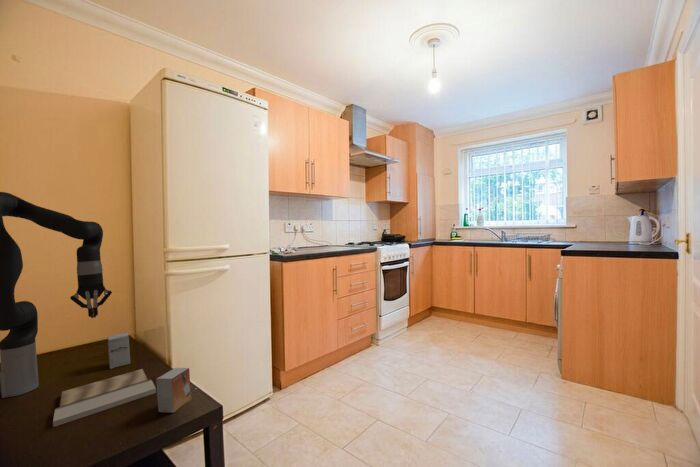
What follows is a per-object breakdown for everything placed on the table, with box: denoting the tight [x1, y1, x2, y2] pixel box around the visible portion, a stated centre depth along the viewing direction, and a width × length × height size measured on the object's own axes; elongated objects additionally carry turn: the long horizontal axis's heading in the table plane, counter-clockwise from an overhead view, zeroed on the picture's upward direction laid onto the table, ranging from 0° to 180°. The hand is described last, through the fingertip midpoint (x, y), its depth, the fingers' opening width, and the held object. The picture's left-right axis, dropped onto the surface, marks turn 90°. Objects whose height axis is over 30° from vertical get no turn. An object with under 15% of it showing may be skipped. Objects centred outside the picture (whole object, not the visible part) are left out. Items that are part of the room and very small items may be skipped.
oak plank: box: [59, 368, 149, 407], centre depth 113 cm, size 24×14×2 cm, turn 131°
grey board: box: [52, 379, 157, 428], centre depth 104 cm, size 26×10×2 cm, turn 131°
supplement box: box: [107, 332, 131, 370], centre depth 137 cm, size 7×7×13 cm
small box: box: [155, 367, 192, 414], centre depth 99 cm, size 8×6×10 cm
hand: (93, 317), depth 120 cm, fingers closed
